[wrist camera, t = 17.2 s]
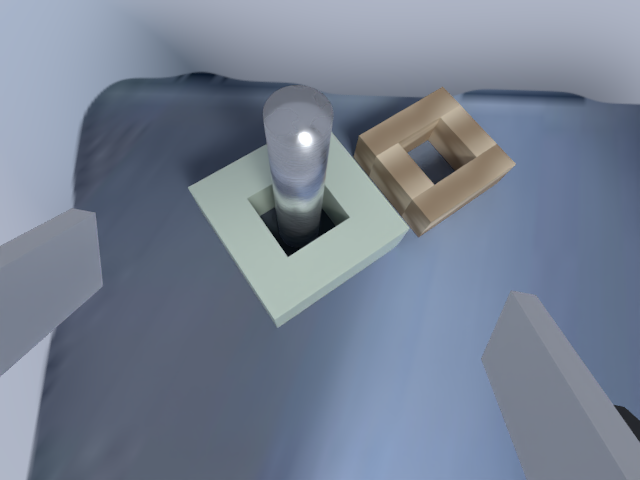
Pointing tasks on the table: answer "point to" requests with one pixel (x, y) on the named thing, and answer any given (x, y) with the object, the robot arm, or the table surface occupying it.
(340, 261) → the sage rack
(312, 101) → the cylinder
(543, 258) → the table surface
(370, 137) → the maple sleeve
